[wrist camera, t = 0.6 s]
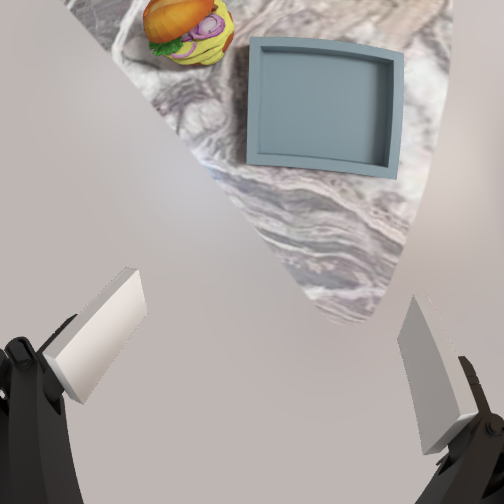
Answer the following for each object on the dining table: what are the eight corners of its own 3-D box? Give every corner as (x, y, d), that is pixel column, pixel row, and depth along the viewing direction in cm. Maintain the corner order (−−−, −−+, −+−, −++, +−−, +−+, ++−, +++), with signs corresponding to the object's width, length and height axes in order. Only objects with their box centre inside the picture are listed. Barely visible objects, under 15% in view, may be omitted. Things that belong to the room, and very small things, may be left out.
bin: (254, 43, 28) (249, 37, 25) (396, 58, 25) (403, 53, 22) (251, 160, 34) (246, 164, 32) (389, 175, 32) (396, 179, 29)
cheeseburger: (184, 87, 31) (135, 62, 22) (162, 35, 30) (118, 8, 21) (254, 47, 28) (222, 5, 18) (223, -2, 27) (189, -41, 18)
